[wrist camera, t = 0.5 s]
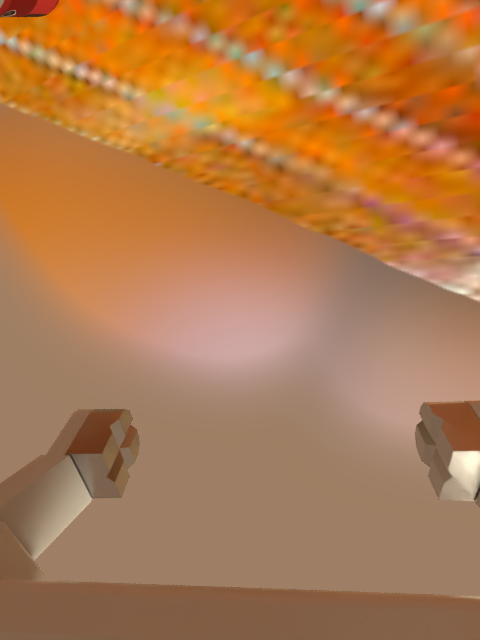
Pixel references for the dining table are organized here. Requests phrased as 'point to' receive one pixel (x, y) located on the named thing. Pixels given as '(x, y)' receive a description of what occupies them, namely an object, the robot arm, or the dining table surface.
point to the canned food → (26, 8)
